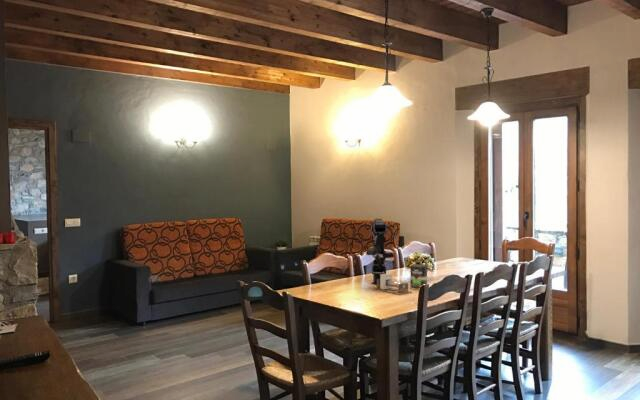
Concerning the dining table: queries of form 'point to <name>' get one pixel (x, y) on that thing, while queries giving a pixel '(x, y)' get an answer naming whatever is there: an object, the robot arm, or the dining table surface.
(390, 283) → the pipe
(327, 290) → the dining table surface
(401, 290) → the wall mounted rod holder
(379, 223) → the robot arm
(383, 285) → the collar
